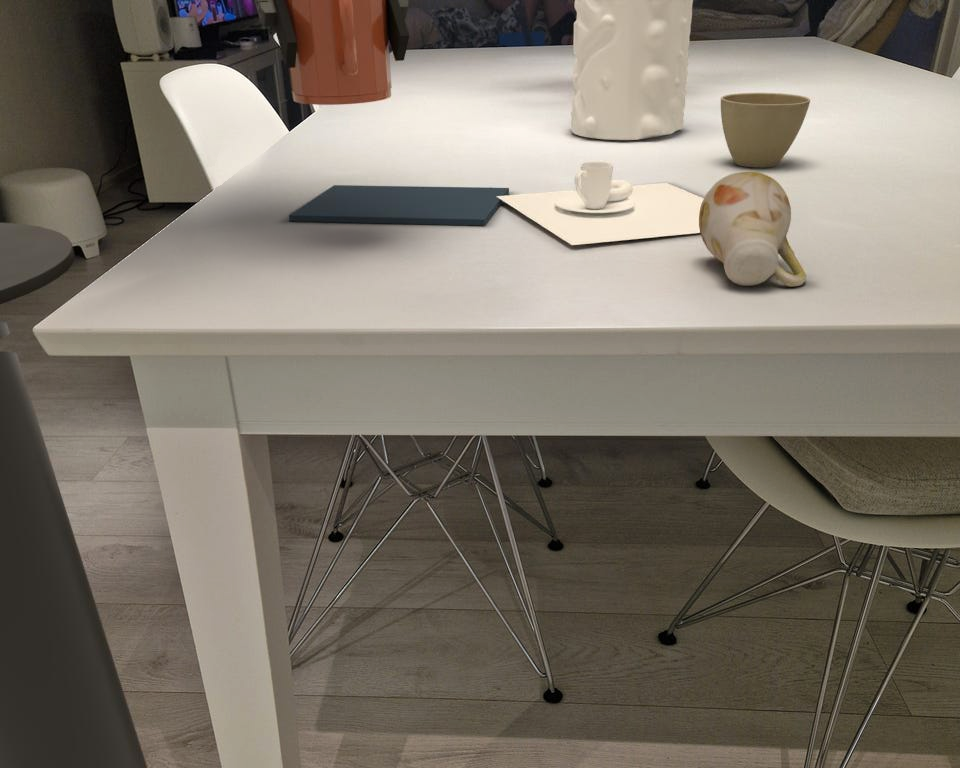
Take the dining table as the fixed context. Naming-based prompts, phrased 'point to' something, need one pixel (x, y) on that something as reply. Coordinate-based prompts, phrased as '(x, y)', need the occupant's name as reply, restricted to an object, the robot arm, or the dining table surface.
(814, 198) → the dining table surface
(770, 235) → the floral patterned cup
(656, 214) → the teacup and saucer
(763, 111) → the flower pot
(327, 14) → the tall mug
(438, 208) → the mat
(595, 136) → the vase
